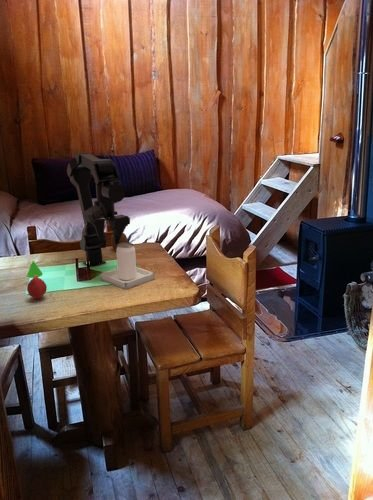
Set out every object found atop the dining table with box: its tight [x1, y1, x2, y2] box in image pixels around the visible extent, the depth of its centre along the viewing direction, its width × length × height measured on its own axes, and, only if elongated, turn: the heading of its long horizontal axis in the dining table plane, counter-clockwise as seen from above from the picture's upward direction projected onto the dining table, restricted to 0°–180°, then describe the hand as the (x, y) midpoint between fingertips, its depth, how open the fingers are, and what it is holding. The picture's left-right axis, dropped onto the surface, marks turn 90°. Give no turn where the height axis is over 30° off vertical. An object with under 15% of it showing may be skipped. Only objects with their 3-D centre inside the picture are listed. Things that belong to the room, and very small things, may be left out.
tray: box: [100, 266, 156, 291], centre depth 161 cm, size 14×13×2 cm
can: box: [115, 242, 137, 281], centre depth 160 cm, size 6×6×12 cm
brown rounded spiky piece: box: [110, 230, 128, 251], centre depth 192 cm, size 7×6×15 cm
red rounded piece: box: [26, 275, 48, 300], centre depth 146 cm, size 6×6×8 cm
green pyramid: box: [26, 260, 44, 279], centre depth 167 cm, size 6×6×6 cm
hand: (108, 241), depth 161 cm, fingers open, 9 cm apart
